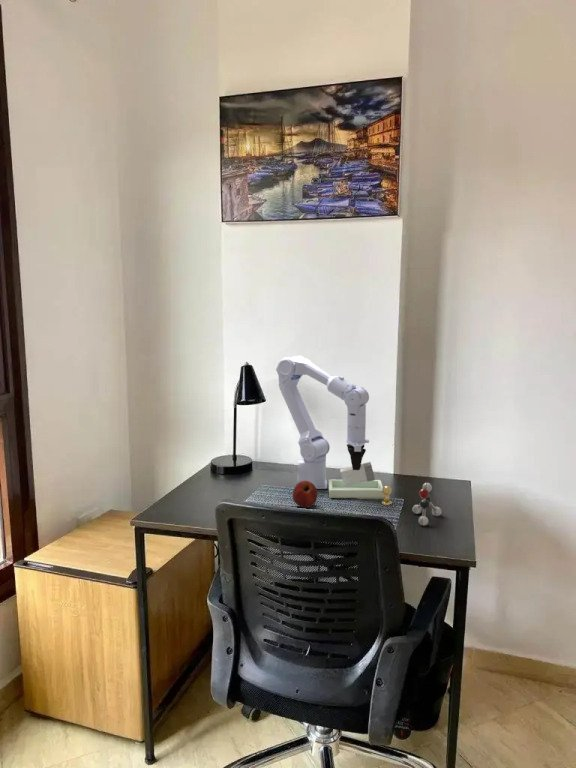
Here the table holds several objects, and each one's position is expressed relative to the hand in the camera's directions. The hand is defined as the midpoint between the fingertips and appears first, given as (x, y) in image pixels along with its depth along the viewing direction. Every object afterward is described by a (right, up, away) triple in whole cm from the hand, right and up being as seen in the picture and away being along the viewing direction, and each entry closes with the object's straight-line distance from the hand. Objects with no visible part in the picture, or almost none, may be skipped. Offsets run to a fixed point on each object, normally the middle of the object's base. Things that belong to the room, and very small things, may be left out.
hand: (355, 468), depth 188 cm
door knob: (+8, -10, -9) cm, 15 cm away
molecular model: (+17, -12, -22) cm, 30 cm away
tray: (0, -8, +1) cm, 8 cm away
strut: (+1, -4, +1) cm, 5 cm away
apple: (-17, -10, -10) cm, 22 cm away
